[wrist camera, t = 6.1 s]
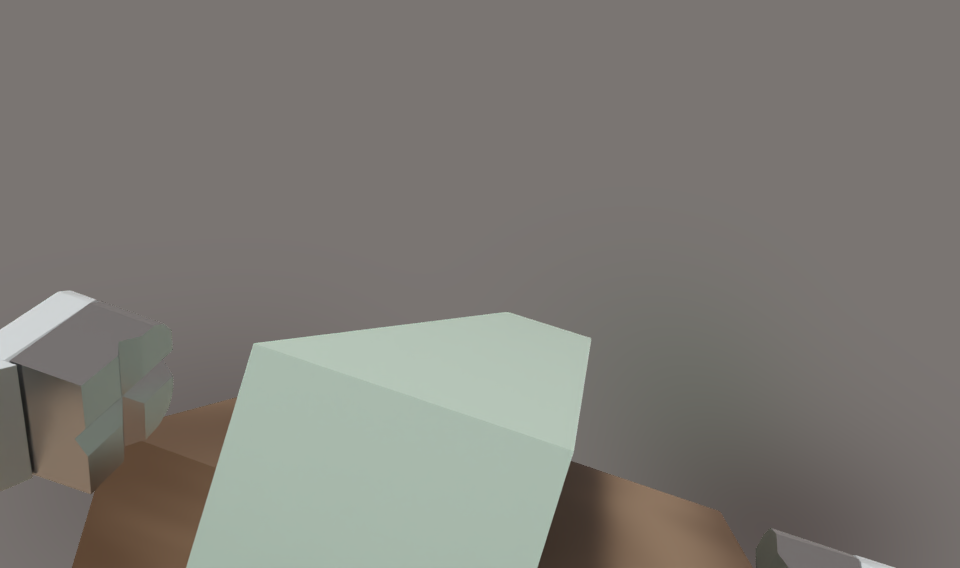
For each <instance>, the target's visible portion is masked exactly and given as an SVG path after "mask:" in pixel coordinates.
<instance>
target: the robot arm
mask: <svg viewBox="0 0 960 568" xmlns="http://www.w3.org/2000/svg"><path fill="white" fill-rule="evenodd" d="M172 350H173V349H172V333H171V329H169V328H168V327H167V326H166V325H164V324H163V323H160V322H157V321H155V320H152V319H150V318H147V317H144V316H141V315H139V314H136V313H133V312H130V311H128V310H125V309H122V308H119V307H117V306H113V305H111V304H108V303H106V302H103V301H98V300H95V299H92V298H90V297H87V296H84V295H81V294H79V293H76V292H73V291H61V292H58V293H55V294H54V295H52V296H51V297H49V298H48V299H46V300H45V301H43V302H42V303H40V304H39V305H37V306H36V307H34V308H33V309H31V310H30V311H28V312H26V313H25V314H23V315H22V316H21V317H19V318H17V319H16V320H14V321H13V322H11V323H10V324H8V325H7V326H5V327H4V328H2V329H1V330H0V492H1V491H3V490H5V489H8V488H10V487H12V486H14V485H17V484H19V483H21V482H24V481H26V480H28V479H31V478H32V474H34V475H36V476H40V477H42V478H45V479H48V480H51V481H54V482H57V483H60V484H63V485H66V486H68V487H71V488H74V489H77V490H80V491H83V492H86V493H89V494H92V493H93V492H94V491H95V490H96V489H97V488H98V487H99V486H100V485H101V484H102V483H103V482H104V481H105V480H106V479H107V478H108V477H109V476H110V475H111V474H112V473H113V472H114V471H115V470H116V469H117V468H118V467H119V466H120V465H121V464H122V463H123V462H124V458H125V446H128V445H131V444H134V443H137V442H140V441H143V440H146V439H147V438H148V436H149V435H150V434H151V433H152V432H153V431H154V430H155V429H156V428H157V427H158V426H159V424H160V423H161V421H162V419H163V417H164V415H165V413H166V412H167V410H168V408H169V406H170V401H171V397H172V392H173V375H172V373H171V372H170V370H169V369H168V367H167V366H166V364H165V362H164V361H163V359H164V358H165V357H166V356H167V355H168V354H169V353H170V352H171V351H172ZM756 568H894V567H891V566H888V565H885V564H882V563H879V562H875V561H872V560H869V559H866V558H863V557H860V556H856V555H854V556H852V555H850V554H848V553H845V552H842V551H839V550H836V549H833V548H830V547H827V546H824V545H820V544H818V543H814V542H811V541H808V540H805V539H802V538H799V537H796V536H793V535H790V534H787V533H784V532H781V531H778V530H775V529H772V528H770V529H769V530H768V531H767V532H766V533H765V534H764V535H763V537H762V539H761V541H760V543H759V544H758V546H757V548H756Z"/></svg>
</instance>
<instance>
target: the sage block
mask: <svg viewBox="0 0 960 568" xmlns="http://www.w3.org/2000/svg"><path fill="white" fill-rule="evenodd" d="M590 344H591V338H588V337H585V336H582V335H579V334H576V333H573V332H570V331H566V330H563V329H560V328H557V327H553V326H551V325H547V324H544V323H541V322H538V321H535V320H532V319H528V318H525V317H522V316H519V315H516V314H512V313H509V312H503V313H495V314H487V315H479V316H471V317H463V318H455V319H447V320H439V321H431V322H422V323H414V324H406V325H399V326H391V327H382V328H374V329H366V330H358V331H350V332H342V333H334V334H325V335H318V336H309V337H302V338H293V339H285V340H277V341H270V342H261V343H254V344H253V347H252V351H251V354H250V357H249V361H248V364H247V367H246V371H245V374H244V377H243V381H242V384H241V387H240V391H239V394H238V397H237V400H236V404H235V407H234V410H233V414H232V417H231V420H230V424H229V427H228V430H227V434H226V437H225V440H224V444H223V447H222V450H221V453H220V457H219V460H218V463H217V467H216V470H215V473H214V477H213V480H212V483H211V487H210V490H209V493H208V497H207V500H206V503H205V506H204V510H203V513H202V516H201V520H200V523H199V526H198V530H197V533H196V536H195V540H194V543H193V546H192V550H191V553H190V556H189V559H188V563H187V566H186V568H537V567H538V564H539V561H540V558H541V555H542V551H543V548H544V545H545V542H546V539H547V535H548V532H549V529H550V526H551V523H552V519H553V516H554V513H555V510H556V507H557V503H558V500H559V497H560V494H561V491H562V487H563V484H564V481H565V478H566V475H567V471H568V468H569V465H570V462H571V458H572V455H573V452H574V447H575V439H576V434H577V427H578V421H579V414H580V408H581V401H582V395H583V389H584V382H585V376H586V369H587V363H588V357H589V350H590Z"/></svg>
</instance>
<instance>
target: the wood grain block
mask: <svg viewBox="0 0 960 568" xmlns="http://www.w3.org/2000/svg"><path fill="white" fill-rule="evenodd" d="M236 400H237V397H236V398H232V399H229V400H225V401H221V402H217V403H214V404H210V405H206V406H203V407H199V408H196V409H192V410H188V411H184V412H180V413H177V414H173V415H169V416H165V417H163V419H162V421H161V423H160V424H159V426H158V427H157V428H156V429H155V430H154V431H153V432H152V433H151V434H150V435H149V436H148V438H147V439H146V440H143V441H140V442H137V443H134V444H131V445H128V446H125V458H124V462H123V463H122V464H121V465H120V466H119V467H118V468H117V469H116V470H115V471H114V472H113V473H112V474H111V475H110V476H109V477H108V478H107V479H106V480H105V481H104V482H103V483H102V484H101V485H100V486H99V487H98V488H97V489H96V490H95V492H94V496H93V499H92V503H91V506H90V509H89V513H88V516H87V520H86V522H85V526H84V529H83V532H82V536H81V539H80V542H79V546H78V549H77V552H76V556H75V559H74V563H73V566H72V568H186V566H187V563H188V559H189V556H190V553H191V550H192V546H193V543H194V540H195V536H196V533H197V530H198V526H199V523H200V520H201V516H202V513H203V510H204V506H205V503H206V500H207V497H208V493H209V490H210V487H211V483H212V480H213V477H214V473H215V470H216V467H217V463H218V460H219V457H220V453H221V450H222V447H223V444H224V440H225V437H226V434H227V430H228V427H229V424H230V420H231V417H232V414H233V410H234V407H235V404H236ZM537 568H753V567H752V566H751V564H750V562H749V561H748V559H747V557H746V555H745V554H744V552H743V550H742V549H741V547H740V545H739V543H738V542H737V540H736V538H735V537H734V535H733V533H732V531H731V530H730V528H729V526H728V524H727V523H726V521H725V520H724V518H723V516H722V514H721V512H720V511H717V510H714V509H711V508H708V507H705V506H702V505H699V504H697V503H693V502H690V501H687V500H685V499H682V498H679V497H676V496H673V495H670V494H667V493H664V492H661V491H658V490H655V489H652V488H649V487H646V486H643V485H640V484H637V483H634V482H632V481H629V480H626V479H623V478H620V477H616V476H614V475H611V474H608V473H605V472H602V471H599V470H596V469H593V468H590V467H587V466H584V465H581V464H578V463H575V462H572V461H571V462H570V465H569V468H568V471H567V475H566V478H565V481H564V484H563V487H562V491H561V494H560V497H559V500H558V503H557V507H556V510H555V513H554V516H553V519H552V523H551V526H550V529H549V532H548V535H547V539H546V542H545V545H544V548H543V551H542V555H541V558H540V561H539V564H538V567H537Z"/></svg>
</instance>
